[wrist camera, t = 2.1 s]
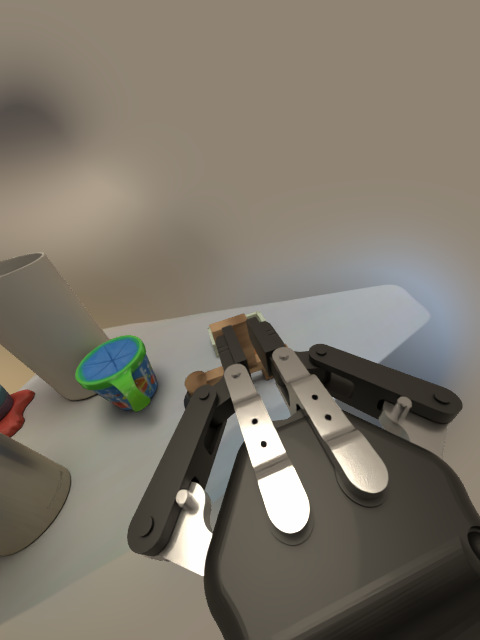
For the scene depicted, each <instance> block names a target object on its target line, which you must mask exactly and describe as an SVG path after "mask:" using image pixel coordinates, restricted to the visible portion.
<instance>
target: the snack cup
mask: <svg viewBox="0 0 480 640" xmlns="http://www.w3.org/2000/svg"><path fill="white" fill-rule="evenodd" d="M75 378H76V380H77V382H78V383H79V384H80V385H81V386H82V387H83V388H84V389H87V390H92V391H94V392H95V393H97V394H99V395H100V396H102V397H103V398H105V399H106V400H108V401H110V402H111V403H113V404H115V405H116V406H117V407H119V408H121V409H123V410H130V409H133V411H136V412H138V411H140V410H142V409H144V408H145V407H146V406H147V405H148V404H149V403H150V401H151V400H150V398H151V397H152V396H153V394H154V393H155V391H156V388H157V380H156V377H155V374H154V372H153V369H152V367H151V364H150V362H149V360H148V357H147V355H146V349H145V346H144V344H143V342H142V341H141V339H139V338H138V337H136V336H131V335H127V336H120V337H116V338H114V339H111V340H109V341H107V342H104V343H103V344H101V345H99V346H98V347H96V348H95V349H93V350H92V351H91V352H90V353H89V354H87V355H86V356H85V357H84V359H83V360H82V361H81V362H80V364H79V365H78V367H77V369H76V374H75Z"/></svg>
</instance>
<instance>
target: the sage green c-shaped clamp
mask: <svg viewBox="0 0 480 640" xmlns="http://www.w3.org/2000/svg"><path fill="white" fill-rule="evenodd" d="M245 316H246V317H247V319H249V318H252V317H257V319H258V321H259V322H263V321H266V320H265V319H264V317H263V316H262V314H261V313H260V311H257V312H254V313H251V314H248V315H245ZM208 331H209V334H210V337H211V341H212V344H213V347H214V350H215V353H216V355H217V357H219V353H218V350H217V347H216V344H215V341H214V338H213V335H212V333H211V329H210V327H209V328H208Z"/></svg>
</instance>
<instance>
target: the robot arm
mask: <svg viewBox="0 0 480 640" xmlns="http://www.w3.org/2000/svg"><path fill="white" fill-rule="evenodd" d="M246 324H247V329H248V334H249V338H250V341H251V343H252V345H253V347H254V349H255V351H256V353H257V355H258V357H259V359H260V360H261V362H262V364H263V366H264V368H265V370H266V372H267V374H268V376H269V377H271V376H274V378H275V380H276V385H277V387H278V389H279V391H280V393H281V395H282V397H283V399H284V401H285V403H286V405H287V407H288V409H289V411H290V414H291V417H289V418H288V419H286V420H278V421H271V419H270V417H269V415H268V412H267V410H266V408H265V406H264V404H263V401H262V399H261V397H260V395H259V394H257V391H256V389H255V387H254V385H253V382H252V378H251V374H250V370H249V366H248V362H247V359H246V356H245V354H244V352H243V350H242V347H241V345H240V343H239V341H238V339H237V336H236V334H235V332H234V330H233V327H232V325H229V326H226V327H223V328H222V332H223V335H221V336H219V337H217V338H216V342H215V344H216V347H217V350H218V353H219V356H220V360H221V363H222V366H223V370H224V374H223V376H222V378H221V380H220V381H219V382H217V383H216V384H215V385H213V386H212V385H202V386H200V387H199V388H197V389H196V390H195V392H194V393H193V395H192V397H191V399H190V401H189V403H188V405H187V407H186V410H185V412H184V414H183V416H182V418H181V420H180V422H179V424H178V426H177V428H176V430H175V432H174V434H173V436H172V438H171V440H170V442H169V444H168V446H167V448H166V451H165V453H164V455H163V457H162V459H161V461H160V463H159V465H158V467H157V469H156V471H155V473H154V475H153V477H152V479H151V481H150V483H149V485H148V487H147V490H146V492H145V494H144V496H143V498H142V500H141V502H140V504H139V506H138V508H137V510H136V512H135V514H134V516H133V518H132V520H131V523H130V525H129V529H128V535H127V539H128V545H129V547H130V549H131V550H132V551H133V552H135V553H138V554H142V555H143V556H145V557H147V558H151V559H155V560H159V561H163V560H165V561H172V562H174V563H176V564H178V565H180V566H182V567H185V568H187V569H189V570H191V571H193V572H195V573H198V574H200V575H202V576H204V589H205V595H206V599H207V603H208V607H209V609H210V612H211V614H212V616H213V618H214V620H215V621H216V623H217V625H218V627H219V629H220V631H221V633H222V635H223V637H224V639H225V640H480V516H479V514H478V513H477V511H476V509H475V508H474V506H473V504H472V503H471V500H470V498H469V496H468V494H467V492H466V489H465V487H464V485H463V484H462V482H461V480H460V478H459V477H458V476H457V474H456V473H455V472H454V471H453V470H452V468H450V466H449V465H448V464H447V463H445V462H444V461H443V460H442V456H443V450H444V443H445V437H446V431H447V426H448V425H449V424H450V423H451V422H452V420H453V419H454V418H455V417H456V416H457V414H458V413H459V412H460V411H461V410H462V402H461V400H460V399H459V397H458V396H457V395H456V394H454V393H453V392H452V391H450V390H448V389H446V388H444V387H441V386H438V385H435V384H433V383H430V382H427V381H424V380H422V379H419V378H416V377H413V376H411V375H408V374H405V373H402V372H400V371H397V370H394V369H391V368H388V367H385V366H383V365H380V364H377V363H375V362H372V361H369V360H366V359H364V358H361V357H358V356H355V355H352V354H350V353H347V352H344V351H341V350H339V349H336V348H333V347H330V346H328V345H324V344H316V345H313V346H312V347H311V348H310V349H309V351H305V352H295V351H293V350H292V349H290V348H287V347H286V345H285V344H284V343H283V341H282V340H281V338H280V337H279V335H278V334H277V333H276V331H275V330H274V328H273V327H272V326H271V324H270V323H268V322H266V321H263V322H259V321H258V319H257V317H252V318H249V319H246ZM331 396H332V397H334V398H336V399H338V400H340V401H342V402H344V403H346V404H348V405H350V406H352V407H354V408H356V409H358V410H360V411H362V412H364V413H366V414H368V415H370V416H372V417H375V418H376V419H378V420H379V421H380V423H381V425H382V426H383V427H384V429H385V430H384V429H382V428H380V427H378V426H375V425H373V424H371V423H369V422H367V421H365V420H363V419H361V418H359V417H356V416H354V415H352V414H350V413H348V412H346V411H344V410H341V409H340V408H339V406H338V405H337V404H336V402H335V401H334V399H333V398H332V397H331ZM235 412H236V415H237V418H238V421H239V424H240V428H241V431H242V434H243V437H244V440H245V441H244V442H243V444H242V445H241V447H240V449H239V451H238V453H237V456H236V459H235V463H234V466H233V469H232V472H231V475H230V479H229V482H228V485H227V488H226V492H225V495H224V498H223V502H222V505H221V508H220V511H219V514H218V518H217V521H216V524H215V527H214V531H213V532H212V529H211V526H210V513H211V499H210V497H209V495H208V493H207V492H206V491H205V487H206V484H207V481H208V478H209V475H210V472H211V469H212V466H213V463H214V459H215V456H216V453H217V450H218V447H219V444H220V441H221V438H222V435H223V432H224V429H225V426H226V422H227V419H228V418H229V417H230V416H231V415H233V414H234V413H235ZM69 487H70V474H69V472H68V470H67V469H66V468H64V467H63V466H61V465H59V464H57V463H55V462H53V461H52V460H50V459H48V458H46V457H45V456H43V455H41V454H39V453H37V452H35V451H34V450H32V449H30V448H28V447H26V446H24V445H23V444H21V443H19V442H17V441H15V440H13V439H11V438H10V437H8V436H6V435H4V434H2V433H0V556H4V555H11V554H13V553H15V552H18V551H20V550H21V549H23V548H25V547H26V546H28V545H29V544H30V543H32V542H33V541H34V540H35V539H37V538H38V537H39V536H40V535H41V534H42V533H43V532H44V531H45V530H46V529H47V527H48V526H49V525H50V524H51V522H52V521H53V520H54V519H55V517H56V516H57V514H58V512H59V511H60V509H61V508H62V506H63V504H64V502H65V500H66V497H67V494H68V492H69Z"/></svg>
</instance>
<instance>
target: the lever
mask: <svg viewBox="0 0 480 640" xmlns="http://www.w3.org/2000/svg"><path fill="white" fill-rule="evenodd" d="M246 319H247V317H246V316H245V314H241V315H238V316H235V317H232V318H229V319H226V320H223V321H220V322H217V323H213V324H210V325H209V326H210V329H211V333H212V335H213V338H214V341H215V342H216V338H217V337H219V336H221V335H223V332H222V328H223V327H226V326H229V325H232V327H233V330H234V332H235V334H236V336H237V339H238V341H239V343H240V345H241V347H242V350H243V352H244V354H245V356H246V359H247V362H248V366H249V370H250V374H251V373H253V372H256V371H259V370H262V373H263V375H264V377H265V379H266V380H267V379H270V378H273V377H274V376H271V377H269V376H268V374H267V372H266V370H265V368H264V366H263V364H262V362H261V360H260V359H259V357H258V355H257V354H255V352H254V347H253V345H252V343H251V341H250V338H249V334H248V329H247V324H246ZM285 345H286V344H285ZM286 347H287V348H288V346H287V345H286ZM223 374H224V370H223V366H222V367H219V368H216V369H213V370H210V371H208V372H205V373H204V372H202V371H196V372H193V373H191V374H190V375H189V376H188V377H187V378H186V380H185V387H186V388H187V390H188V392H189V394H190V395H191V396H192V395H193V393H194V392H195V390H196V389H197V388H199V387H200V386H202V385H212V386H213V385H215V384H216V383H217V382H219V381H220V380H221V378H222V376H223Z"/></svg>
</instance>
